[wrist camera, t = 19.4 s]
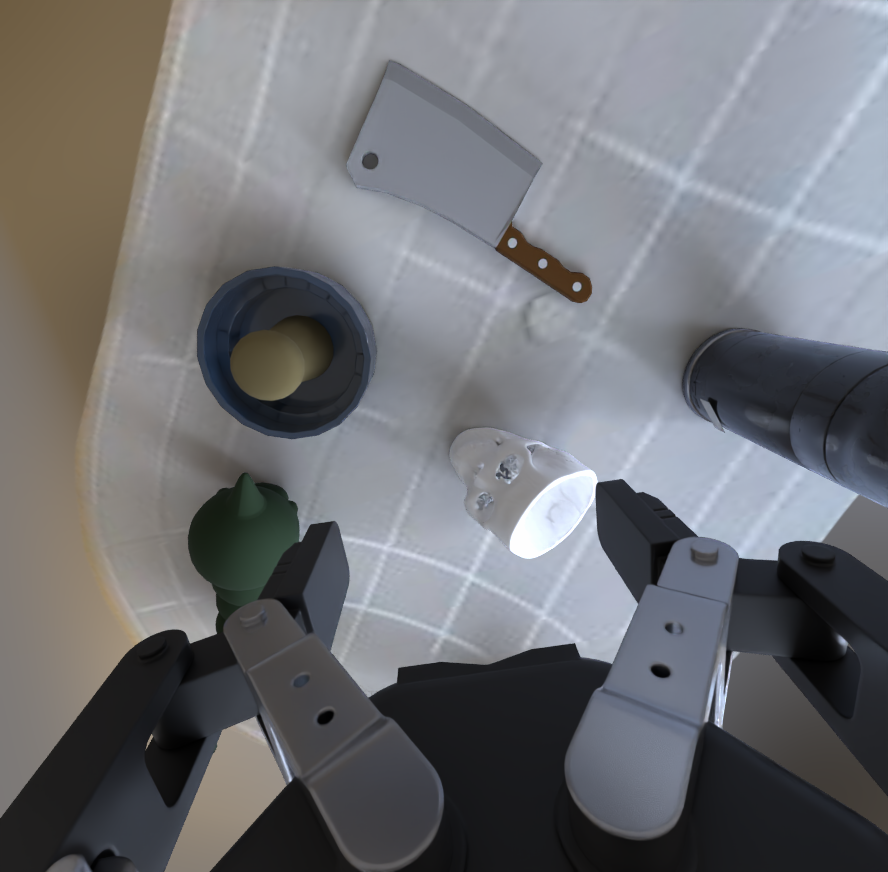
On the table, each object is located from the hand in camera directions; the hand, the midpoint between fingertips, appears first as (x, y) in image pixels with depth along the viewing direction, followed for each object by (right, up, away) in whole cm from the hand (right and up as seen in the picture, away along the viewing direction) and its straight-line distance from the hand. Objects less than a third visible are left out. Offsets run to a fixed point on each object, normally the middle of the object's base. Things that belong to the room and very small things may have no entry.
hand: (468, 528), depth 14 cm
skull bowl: (+7, -1, +34) cm, 35 cm away
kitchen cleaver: (+3, +23, +26) cm, 35 cm away
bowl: (-14, +11, +29) cm, 34 cm away
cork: (-14, +11, +29) cm, 34 cm away
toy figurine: (-21, -9, +36) cm, 43 cm away
